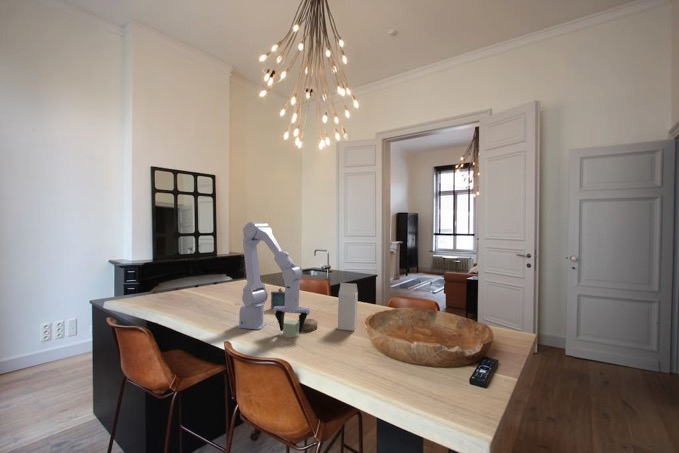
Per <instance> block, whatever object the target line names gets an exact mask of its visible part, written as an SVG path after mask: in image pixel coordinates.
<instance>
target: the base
mask: <svg viewBox="0 0 679 453" xmlns="http://www.w3.org/2000/svg"><path fill="white" fill-rule="evenodd" d="M296 321H299V319H297V320H296ZM316 330H318V321H317V320H316V319H314V318H306V319H305V322H304V324H303V328H302V332H314V331H316Z"/></svg>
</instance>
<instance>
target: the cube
mask: <svg viewBox="0 0 679 453" xmlns="http://www.w3.org/2000/svg"><path fill="white" fill-rule="evenodd" d="M299 334H300V332H299V321H297V320H293V319H287V320H286V321H284V324H283V331H282V336H283V337H285V338H297V336H298V335H299Z"/></svg>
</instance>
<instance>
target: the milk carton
mask: <svg viewBox="0 0 679 453" xmlns="http://www.w3.org/2000/svg"><path fill="white" fill-rule="evenodd" d="M358 294H359V290H358V285H357V283H347V282H346V283H345V282H340V286H339V290H338V303H337V304H338V306H337V310H338V311H337V313H338V314H337V315H338V316H337V330H342V331H352V332H354V331H355V330H356V329H357V325H358V301H359V300H358V297H359V295H358Z"/></svg>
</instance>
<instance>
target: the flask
mask: <svg viewBox="0 0 679 453" xmlns="http://www.w3.org/2000/svg"><path fill="white" fill-rule="evenodd" d="M277 290H278V291H277ZM277 290H272V291H271V292H270V309H271V310H273V308H274V307H275V306H285V291H283V290H282V288H280V287H279V288H277Z"/></svg>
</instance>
